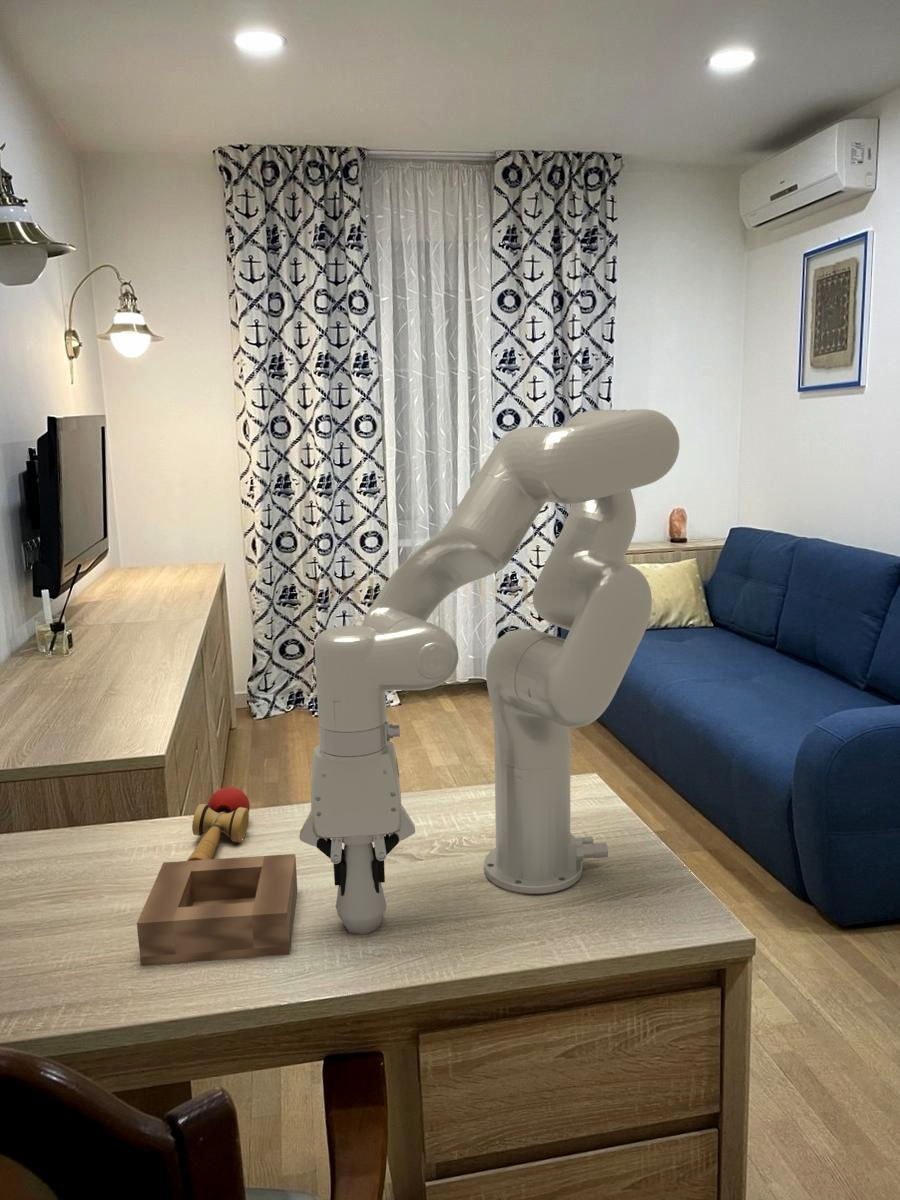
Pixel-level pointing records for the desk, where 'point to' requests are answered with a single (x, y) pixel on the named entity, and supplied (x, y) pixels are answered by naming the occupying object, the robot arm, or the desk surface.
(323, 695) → the robot arm
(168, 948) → the socket block
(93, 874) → the desk surface
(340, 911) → the grey rounded peg
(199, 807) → the kendama
